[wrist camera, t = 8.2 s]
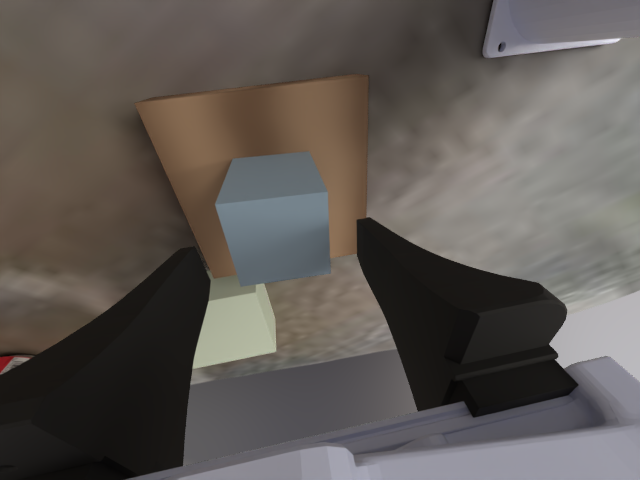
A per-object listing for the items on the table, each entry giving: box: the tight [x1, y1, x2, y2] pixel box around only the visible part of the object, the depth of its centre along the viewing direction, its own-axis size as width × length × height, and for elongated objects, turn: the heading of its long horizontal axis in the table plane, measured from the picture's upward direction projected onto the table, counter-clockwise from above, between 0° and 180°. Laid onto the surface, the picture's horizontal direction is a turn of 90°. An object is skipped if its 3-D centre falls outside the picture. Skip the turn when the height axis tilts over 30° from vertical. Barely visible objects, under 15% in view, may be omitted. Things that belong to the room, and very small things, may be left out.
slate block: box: [215, 151, 331, 287], centre depth 14 cm, size 4×4×6 cm
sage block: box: [192, 270, 276, 369], centre depth 23 cm, size 8×8×4 cm
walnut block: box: [134, 74, 369, 279], centre depth 18 cm, size 12×12×3 cm
